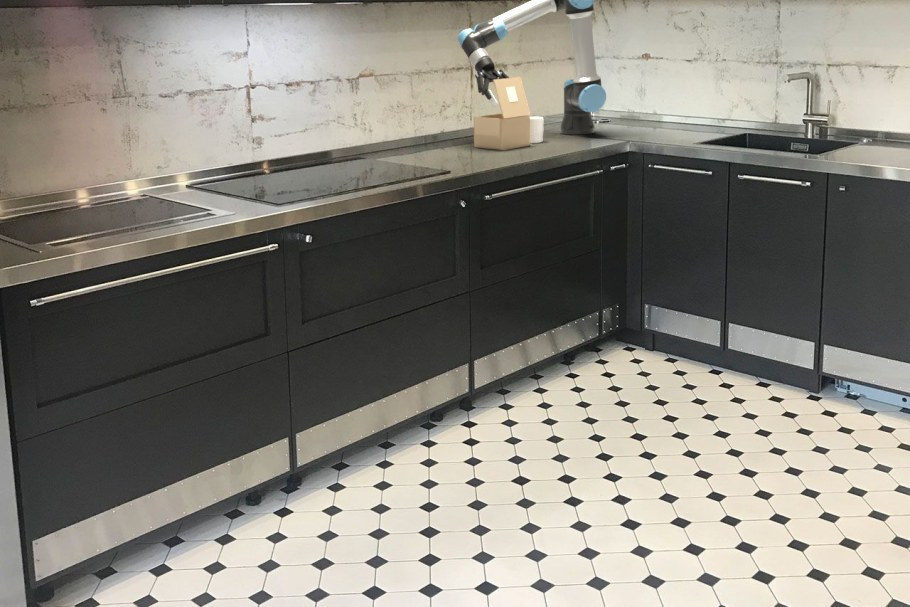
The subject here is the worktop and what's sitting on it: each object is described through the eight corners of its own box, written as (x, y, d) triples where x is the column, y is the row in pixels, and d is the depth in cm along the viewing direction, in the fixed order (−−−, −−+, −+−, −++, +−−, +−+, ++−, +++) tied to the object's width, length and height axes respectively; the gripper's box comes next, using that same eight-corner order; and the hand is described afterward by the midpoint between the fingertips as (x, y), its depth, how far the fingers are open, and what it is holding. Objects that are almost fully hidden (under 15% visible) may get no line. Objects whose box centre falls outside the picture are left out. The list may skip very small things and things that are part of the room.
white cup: (544, 143, 423) (544, 118, 420) (525, 143, 423) (525, 119, 420) (543, 140, 430) (543, 116, 427) (524, 140, 430) (524, 116, 427)
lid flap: (492, 80, 402) (494, 79, 401) (519, 77, 412) (521, 76, 411) (503, 118, 402) (504, 118, 402) (529, 115, 412) (531, 114, 412)
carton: (473, 147, 417) (472, 116, 413) (502, 142, 428) (501, 112, 424) (501, 150, 405) (501, 118, 402) (530, 145, 416) (530, 114, 413)
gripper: (499, 67, 424) (524, 107, 418) (454, 70, 407) (480, 112, 401) (509, 55, 418) (534, 95, 412) (464, 57, 402) (490, 99, 396)
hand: (508, 104), depth 407 cm, fingers open, 13 cm apart
